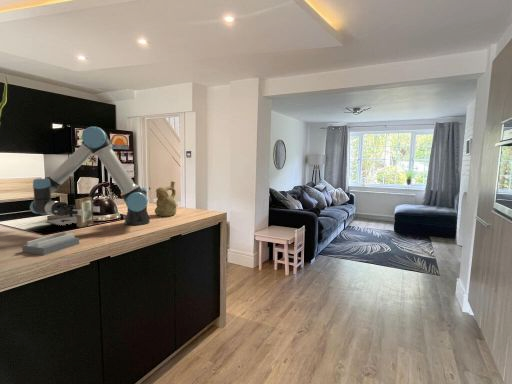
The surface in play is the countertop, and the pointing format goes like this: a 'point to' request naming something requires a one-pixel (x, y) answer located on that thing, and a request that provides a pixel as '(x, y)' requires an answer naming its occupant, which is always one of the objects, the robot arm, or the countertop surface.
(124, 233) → the countertop surface
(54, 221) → the play button award
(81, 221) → the walnut photo frame
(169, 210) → the ceramic vessel
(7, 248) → the countertop surface
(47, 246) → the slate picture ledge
